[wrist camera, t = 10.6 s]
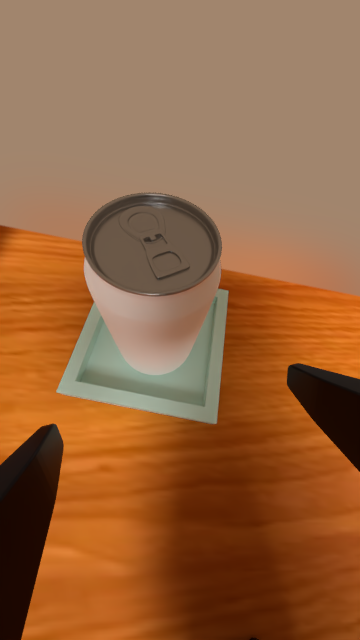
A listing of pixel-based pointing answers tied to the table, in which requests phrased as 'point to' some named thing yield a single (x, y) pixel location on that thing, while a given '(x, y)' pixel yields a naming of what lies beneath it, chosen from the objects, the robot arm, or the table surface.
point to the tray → (150, 390)
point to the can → (152, 276)
